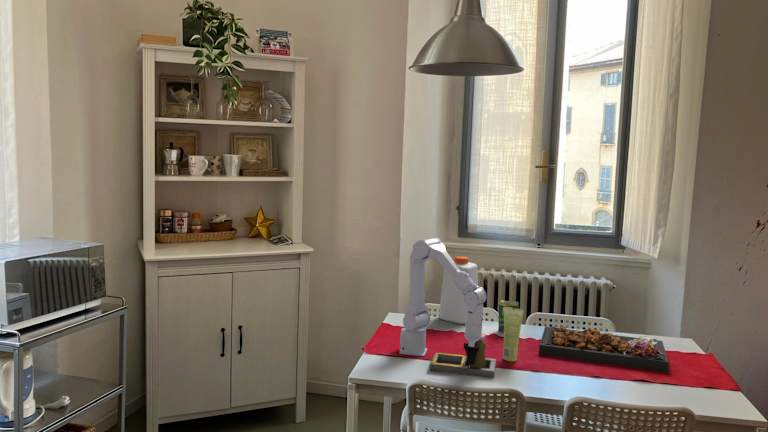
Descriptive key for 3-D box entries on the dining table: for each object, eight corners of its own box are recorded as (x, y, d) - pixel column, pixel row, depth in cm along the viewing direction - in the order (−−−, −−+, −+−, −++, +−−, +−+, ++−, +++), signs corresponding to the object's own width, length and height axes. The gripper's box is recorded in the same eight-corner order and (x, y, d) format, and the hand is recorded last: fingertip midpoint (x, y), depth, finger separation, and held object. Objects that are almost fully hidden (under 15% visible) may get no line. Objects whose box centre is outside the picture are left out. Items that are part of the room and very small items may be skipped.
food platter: (661, 351, 245) (663, 326, 244) (668, 374, 222) (670, 346, 221) (544, 336, 260) (545, 312, 258) (538, 355, 237) (540, 329, 235)
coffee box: (497, 331, 262) (498, 301, 260) (498, 329, 265) (500, 299, 263) (516, 334, 259) (518, 303, 258) (517, 332, 262) (519, 301, 260)
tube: (513, 356, 233) (516, 305, 231) (520, 361, 229) (524, 309, 226) (500, 357, 231) (503, 306, 229) (507, 362, 227) (510, 310, 224)
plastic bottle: (452, 311, 289) (454, 252, 285) (481, 318, 280) (484, 257, 276) (435, 319, 277) (438, 257, 273) (465, 326, 268) (468, 262, 264)
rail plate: (429, 371, 216) (430, 363, 216) (434, 359, 228) (434, 352, 228) (493, 378, 212) (494, 370, 211) (495, 365, 223) (496, 358, 223)
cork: (485, 374, 215) (487, 343, 214) (468, 372, 216) (469, 341, 215) (486, 367, 221) (488, 338, 220) (469, 366, 222) (470, 336, 221)
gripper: (484, 329, 209) (482, 368, 211) (486, 317, 223) (484, 354, 225) (463, 327, 210) (461, 366, 212) (467, 315, 224) (465, 352, 226)
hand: (472, 360), depth 219 cm, fingers open, 7 cm apart
